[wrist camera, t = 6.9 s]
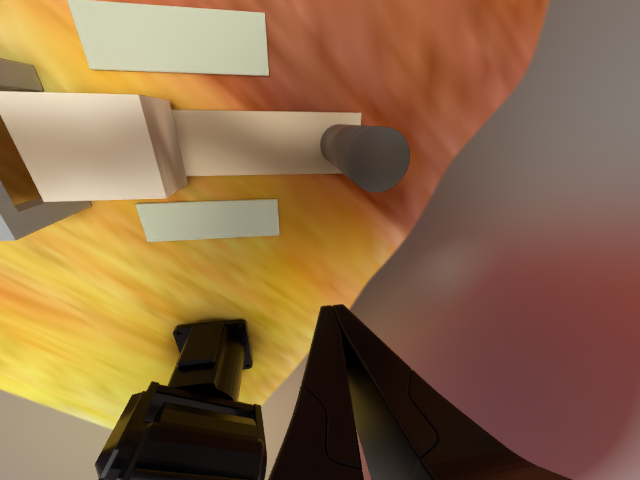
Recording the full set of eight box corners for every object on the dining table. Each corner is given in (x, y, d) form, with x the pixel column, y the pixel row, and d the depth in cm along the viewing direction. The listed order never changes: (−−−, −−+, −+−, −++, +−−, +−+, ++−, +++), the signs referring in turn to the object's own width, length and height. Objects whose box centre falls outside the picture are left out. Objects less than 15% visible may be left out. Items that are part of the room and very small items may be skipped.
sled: (354, 178, 19) (404, 216, 11) (96, 183, 16) (-60, 237, 9) (359, 104, 17) (425, 92, 9) (62, 98, 14) (-181, 73, 7)
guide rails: (279, 233, 20) (279, 235, 20) (149, 240, 19) (147, 242, 19) (265, 14, 14) (264, 12, 14) (71, 1, 13) (66, -2, 13)
